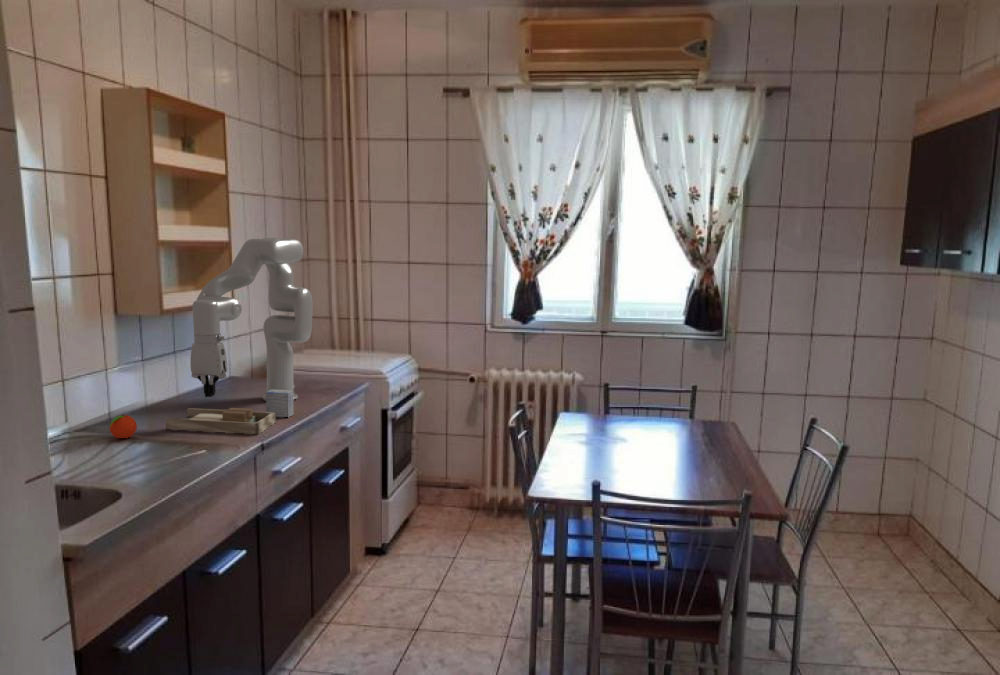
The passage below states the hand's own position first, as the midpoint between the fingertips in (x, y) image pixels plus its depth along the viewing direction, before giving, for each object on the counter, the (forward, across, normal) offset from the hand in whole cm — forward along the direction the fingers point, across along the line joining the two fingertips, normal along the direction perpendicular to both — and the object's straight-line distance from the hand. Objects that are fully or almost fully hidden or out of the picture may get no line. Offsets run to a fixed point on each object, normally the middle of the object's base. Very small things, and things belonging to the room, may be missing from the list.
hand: (209, 395), depth 213 cm
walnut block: (+7, -10, +2) cm, 12 cm away
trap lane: (+10, -4, +1) cm, 10 cm away
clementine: (+9, +17, +19) cm, 27 cm away
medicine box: (+10, -17, -15) cm, 25 cm away
